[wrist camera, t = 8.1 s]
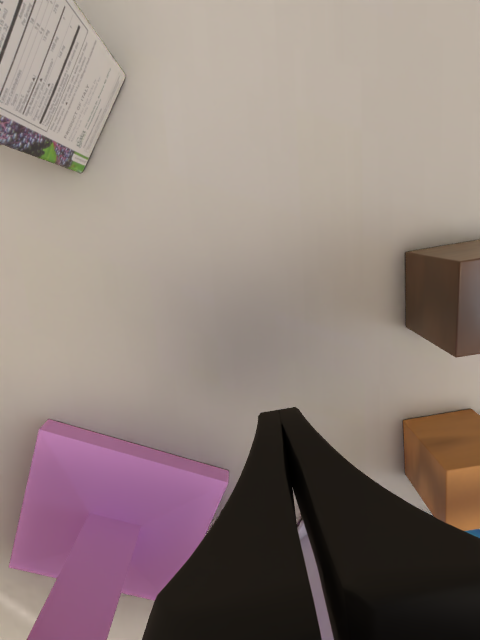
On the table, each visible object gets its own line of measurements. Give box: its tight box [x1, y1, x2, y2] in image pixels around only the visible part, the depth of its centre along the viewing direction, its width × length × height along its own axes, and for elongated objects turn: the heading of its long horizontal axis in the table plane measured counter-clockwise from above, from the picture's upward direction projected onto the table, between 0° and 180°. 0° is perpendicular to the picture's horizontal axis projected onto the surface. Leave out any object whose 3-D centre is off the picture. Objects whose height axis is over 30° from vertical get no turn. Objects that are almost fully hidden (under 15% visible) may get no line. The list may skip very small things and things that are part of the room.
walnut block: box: [405, 240, 480, 357], centre depth 18 cm, size 5×5×5 cm
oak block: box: [403, 409, 480, 531], centre depth 21 cm, size 5×5×5 cm
